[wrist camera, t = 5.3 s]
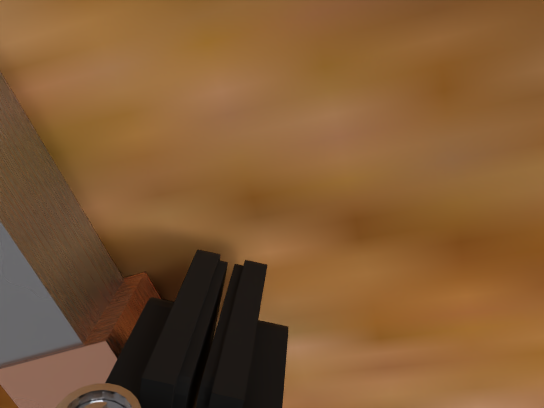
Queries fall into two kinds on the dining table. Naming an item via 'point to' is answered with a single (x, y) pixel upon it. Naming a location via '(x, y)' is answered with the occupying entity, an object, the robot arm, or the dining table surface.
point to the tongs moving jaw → (54, 277)
